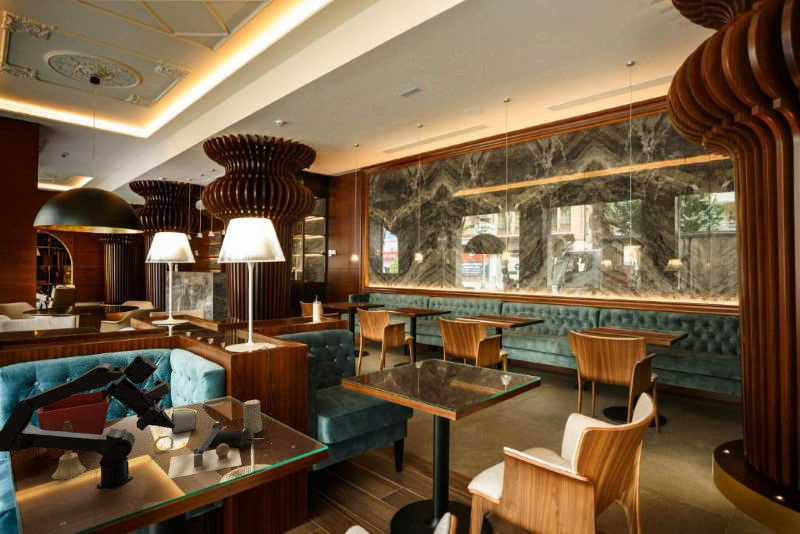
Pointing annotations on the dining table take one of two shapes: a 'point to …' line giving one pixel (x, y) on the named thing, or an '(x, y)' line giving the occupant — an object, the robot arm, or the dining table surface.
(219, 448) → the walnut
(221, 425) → the lever
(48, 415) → the plant pot
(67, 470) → the hand bell
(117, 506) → the dining table surface
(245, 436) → the drinking cup
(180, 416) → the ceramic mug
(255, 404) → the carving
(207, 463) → the board
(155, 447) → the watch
